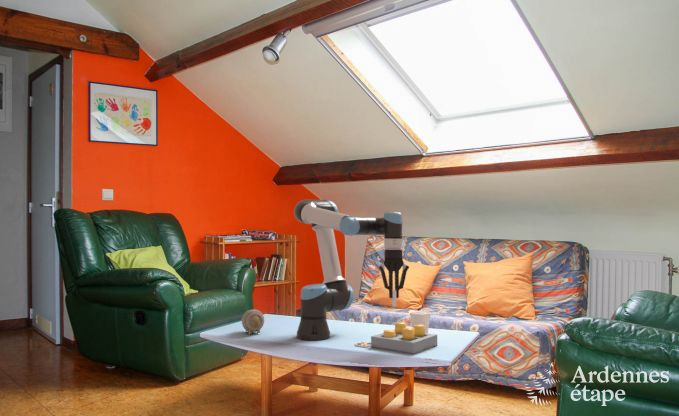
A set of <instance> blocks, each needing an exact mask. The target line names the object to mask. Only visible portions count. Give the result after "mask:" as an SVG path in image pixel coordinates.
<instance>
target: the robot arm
mask: <svg viewBox="0 0 679 416" xmlns="http://www.w3.org/2000/svg"><path fill="white" fill-rule="evenodd" d="M295 204H296V205H295V206H294V208H293V215H294V217H295V219H296V220H297V221H298V222H300V223H302V224H306V225H311V229H312V230H313V231H315V236H316V239H317V241H316V242H317V246H318V252H319V256H320V263H321V269H322V274H323V281H322V283H312V284H307V285H305V286H302V288H301V289H300V295H299V297H300V321H299V323H298V327H297V331H296V338H297V339H299V338H300V339H299V340H303V339H304V341H320V340H321V341H323V340H327V339H330V338H331V330H330V328H329V324H328V321H327V313H328V312H329V313H330V312H338V311H339V312H341V311H344V310H347V309H349V308H350V307H351V305H353V303H354V302H353V301H354V298H355V293H354V289H353V288H352V287H351V286H352V285H351V286H350V285H349V284H347V280H346V278H344V277H343V274H342V268H341V264H340V258H339V254H338V248H337V242H336V237H335V236H336V235H335V232H334V230H335V231H339V232H341V233H342V235H345V236H381V235H382V236H383V239H384V244H383V246H384V253H383V254H384V259H383V260H384V261H383V262H382V264H381V265H379V266H378V270H379V271H380V275H381V278H382V283H383V286H384V289H386V290H388V297H389V299H391V307H397V299H399V297H400V294H399V293H400V292H399V291H400V290H402V289H403V288H404V284H405V281H406V276H407V272H408V270H409V268H410V266H409V265H407V264H405V262H404V260H403V258H404V257H403V216H402V213H401V212H399V211H398V212H397V211H391V212H388V211H387V212H384V214H383V217H360V216H359V217H358V216H353V215H349V214H345V213H340V212H339V210H338V209H339V208H338V206H337V205H336V204H335V203H334V202H333V201H331V200H328V199H327V200H326V199H309V198H306V199H302V200H300V201H298V202H297V203H295ZM385 269H386V270H387V271H388V279H387V275H386V272H385V271H386V270H385ZM401 269H402V271H401V277H400V276H399V275H400V270H401ZM393 275H394V276H393Z"/></svg>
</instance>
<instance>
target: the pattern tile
mask: <svg viewBox="0 0 679 416" xmlns="http://www.w3.org/2000/svg"><path fill="white" fill-rule="evenodd" d="M354 347H360V348H366V349H368V348H369V347H371V342H366V341H360V342H358V343H354Z"/></svg>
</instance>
